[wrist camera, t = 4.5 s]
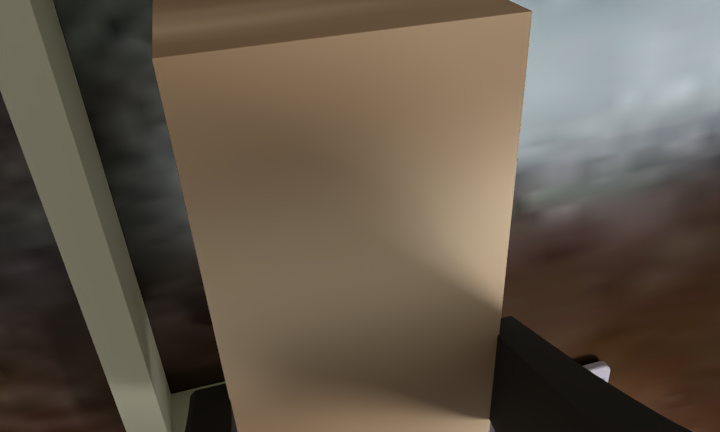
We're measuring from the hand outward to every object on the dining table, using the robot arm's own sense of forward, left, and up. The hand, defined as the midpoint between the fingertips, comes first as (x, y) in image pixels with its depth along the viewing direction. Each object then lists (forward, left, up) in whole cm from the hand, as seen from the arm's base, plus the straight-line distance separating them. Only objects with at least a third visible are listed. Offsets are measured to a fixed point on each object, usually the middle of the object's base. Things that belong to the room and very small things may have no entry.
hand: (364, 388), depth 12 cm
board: (0, 0, -3) cm, 3 cm away
